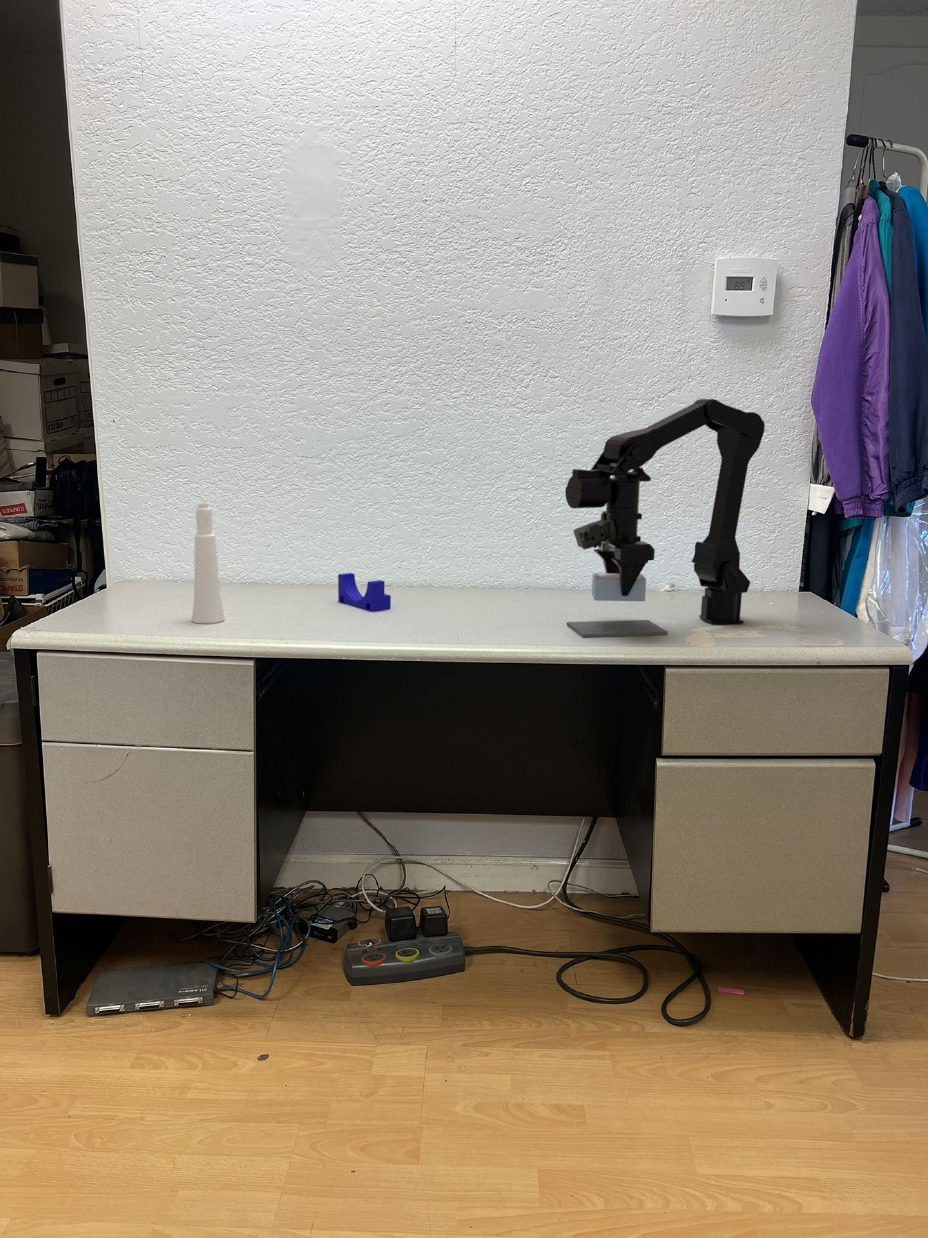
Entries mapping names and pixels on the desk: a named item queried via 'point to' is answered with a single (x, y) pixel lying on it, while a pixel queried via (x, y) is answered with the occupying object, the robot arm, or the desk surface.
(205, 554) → the cosmetic bottle
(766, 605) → the desk surface
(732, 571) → the robot arm
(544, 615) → the desk surface
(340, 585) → the cable clip
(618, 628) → the mat
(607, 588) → the card deck
